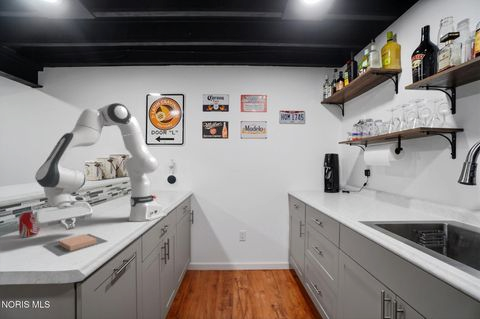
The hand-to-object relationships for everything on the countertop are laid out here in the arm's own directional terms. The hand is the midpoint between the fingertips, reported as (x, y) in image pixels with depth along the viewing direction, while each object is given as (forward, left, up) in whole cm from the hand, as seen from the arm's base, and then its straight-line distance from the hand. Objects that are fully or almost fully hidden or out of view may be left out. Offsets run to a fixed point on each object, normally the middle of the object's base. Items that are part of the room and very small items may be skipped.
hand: (70, 228), depth 92 cm
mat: (0, +6, -6) cm, 8 cm away
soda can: (+7, -29, -6) cm, 30 cm away
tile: (0, +2, -4) cm, 5 cm away
